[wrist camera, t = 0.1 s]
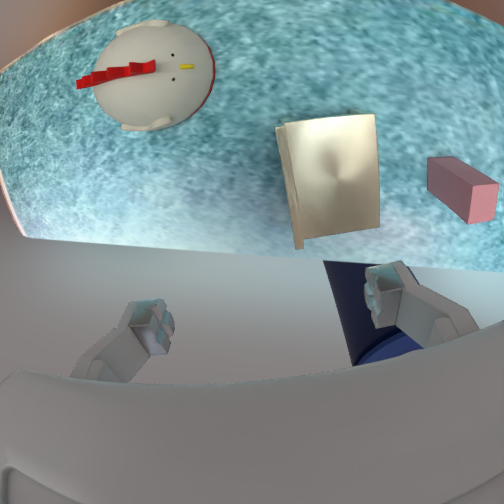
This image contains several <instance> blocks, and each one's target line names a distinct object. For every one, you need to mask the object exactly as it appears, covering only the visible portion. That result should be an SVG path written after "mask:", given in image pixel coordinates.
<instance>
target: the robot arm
mask: <svg viewBox="0 0 504 504" xmlns="http://www.w3.org/2000/svg"><path fill="white" fill-rule="evenodd" d="M365 278H366V280H367V282H366V284H365V285H364V294H365V301H366V304H367V307H368V309H370V310H372V312H371V317H372V320H373V323H374V325H375V328H376V329H377V328H382V327H387V326H392V325H396V326H397V327H398V328H399V329H401V330H402V331H403V332H404V333H406V334H407V335H408V336H409V337H411V338H412V339H413V340H414V341H416V342H417V343H418V344H419V345H420V346H422V347H423V348H424V349H418V350H413V351H410V352H407V353H405V354H403V355H400V356H397V357H393V358H389V359H385V360H381V361H377V362H373V363H368V364H363V365H359V366H354V367H349V368H344V369H339V370H333V371H327V372H322V373H315V374H309V375H302V376H295V377H288V378H279V379H270V380H260V381H250V382H249V381H248V382H235V383H218V384H137V383H129V381H130V380H131V379H132V378H133V377H134V375H135V374H136V373H137V372H138V371H139V370H140V368H141V367H142V366H143V365H144V364H145V362H146V361H147V360H148V358H150V356H155V355H168V351H169V347H170V344H171V342H170V340H169V338H170V337H171V336H172V335H173V333H174V320H173V317H172V315H171V313H170V312H168V311H167V310H165V309H166V306H167V305H166V303H165V302H164V300H163V299H160V298H159V299H148V300H139V301H131V302H129V303H128V306H127V308H126V310H125V312H124V314H123V316H122V318H121V320H120V322H119V324H118V327H117V328H113V329H112V330H111V331H110V332H109V333H107V334H106V335H105V336H104V337H103V338H101V339H100V340H99V341H98V342H97V343H96V344H94V345H93V346H92V347H91V348H90V349H89V350H87V351H86V352H85V353H84V354H83V355H82V356H80V357H79V359H78V360H77V363H76V365H75V367H74V369H73V371H72V374H71V376H70V377H63V376H57V375H50V374H45V373H39V372H33V371H29V370H23V369H18V370H15V371H14V372H12V373H11V374H10V375H9V376H8V377H7V378H5V379H4V380H3V381H2V382H1V384H0V504H504V320H503V321H500V322H498V323H496V324H493V325H491V326H488V327H486V328H484V329H481V330H480V329H479V327H478V325H477V324H476V322H475V320H474V319H473V317H472V316H471V314H470V313H469V311H468V309H466V308H465V307H462V306H461V305H459V304H457V303H455V302H453V301H451V300H449V299H448V298H446V297H444V296H442V295H440V294H438V293H436V292H434V291H432V290H430V289H429V288H426V287H425V286H423V285H419V286H418V284H417V283H416V281H415V279H414V278H413V276H412V275H411V273H410V272H409V270H408V269H407V267H406V266H405V264H404V263H403V261H401V260H400V261H396V262H391V263H388V264H383V265H378V266H373V267H367V268H366V269H365Z"/></svg>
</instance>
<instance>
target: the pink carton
mask: <svg viewBox="0 0 504 504" xmlns="http://www.w3.org/2000/svg"><path fill="white" fill-rule="evenodd" d="M427 190H428V191H429V192H431V193H432V194H433V195H434V196H436V197H437V198H438V199H439V200H440V201H442V202H443V203H444V204H445V205H446V206H448V207H449V208H450V209H451V210H452V211H453V212H454V213H456V214H457V215H458V216H459V217H460V218H461V219H462V220H463V221H465V222H466V223H467V224H473V223H479V222H485V221H490V220H494V215H495V209H496V203H497V197H498V190H499V183H497V182H496V181H494V180H493V179H491V178H490V177H488V176H486V175H485V174H483V173H481V172H480V171H478V170H476V169H475V168H473V167H471V166H469V165H468V164H466V163H464V162H462V161H461V160H459V159H457V158H455V157H434V158H428V182H427Z"/></svg>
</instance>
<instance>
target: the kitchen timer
mask: <svg viewBox="0 0 504 504" xmlns="http://www.w3.org/2000/svg"><path fill="white" fill-rule="evenodd" d="M115 35H116V36H117V38H115V39H114V40H113V41H111V42H110V43H109V45H108V46H107V47H106V48H105V49H104V50H103V52H102V53H101V54H100V56H99V58H98V60H97V63H96V65H95V68H94V72H91V75H87V76H83V77H82V79H79V80H76V84H77V89H82V88H87V87H92V86H93V92H94V94H95V97H96V100H97V102H98V104H99V105H100V106H101V108H102V109H103V110H104V112H105V113H106V114H107V115H109V116H110V117H112V118H113V119H115V120H116V121H117V122H119V123H122V125H121V128H120V129H122V130H130V131H152V130H159V129H163V128H166V127H170V126H174V125H176V124H178V123H180V122H181V121H183V120H185V119H187V118H189V117H191V116H192V115H193V114H194V113H195V112H196V111H197V110H198V109H199V108H200V107H201V106H202V105H203V104H204V102H205V101H206V99H207V97H208V96H209V94H210V92H211V90H212V86H213V82H214V79H215V61H214V59H213V56H212V53H211V50H210V48H209V47H208V45H207V44H206V43H205V42H204V40H203V39H202V38H201V37H200V36H199V35H198V34H196V33H194V32H193V31H191V30H190V29H188V28H186V27H184V26H181V25H176V24H172V23H169V21H164V20H147V21H144V22H140V23H137V24H134V25H131V26H127V27H125V28H122V29H120V30H118V31H116V32H115Z"/></svg>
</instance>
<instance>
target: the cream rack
mask: <svg viewBox="0 0 504 504" xmlns="http://www.w3.org/2000/svg"><path fill="white" fill-rule="evenodd" d="M279 119H280V124H276V125H274V129H275V134H276V140H277V145H278V150H279V156H280V161H281V166H282V172H283V178H284V183H285V189H286V195H287V201H288V207H289V213H290V219H291V226H292V232H293V239H294V244H295V249H296V250H298V249H304V243H303V239H309V238H315V237H321V236H328V235H334V234H340V233H346V232H352V231H359V230H365V229H371V228H377V227H380V186H379V161H378V145H377V132H376V122H375V114H374V113H371V112H367V111H364V110H361V109H357V108H356V109H349V114H345V115H334V116H325V117H316V118H308V119H301V120H294V121H293V120H292V119H291V118H290V117H289V116H285V117H280V118H279Z"/></svg>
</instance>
